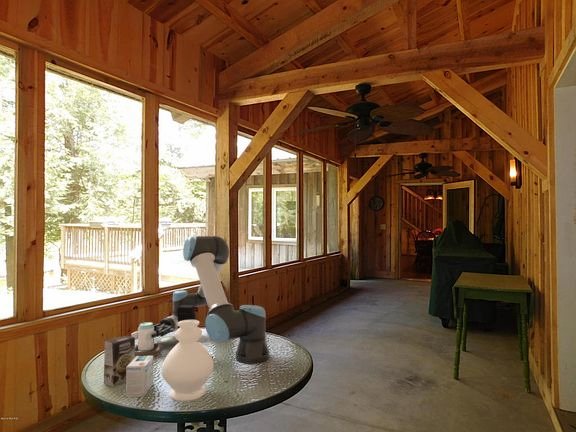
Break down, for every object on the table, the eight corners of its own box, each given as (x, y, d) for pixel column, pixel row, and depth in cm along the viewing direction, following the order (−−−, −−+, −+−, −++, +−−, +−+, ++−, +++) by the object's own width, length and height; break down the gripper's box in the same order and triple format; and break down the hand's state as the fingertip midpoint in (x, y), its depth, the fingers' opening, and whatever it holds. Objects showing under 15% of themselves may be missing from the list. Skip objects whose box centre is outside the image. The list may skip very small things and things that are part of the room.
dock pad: (180, 344, 185) (180, 342, 185) (154, 346, 182) (154, 344, 182) (181, 337, 197) (181, 335, 197) (157, 339, 194) (157, 337, 194)
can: (135, 352, 170) (136, 325, 171) (140, 347, 177) (140, 321, 178) (151, 351, 171) (151, 325, 171) (155, 346, 178) (155, 321, 178)
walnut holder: (158, 355, 169) (158, 351, 169) (129, 357, 167) (129, 353, 167) (161, 347, 181) (161, 343, 181) (134, 348, 179) (134, 344, 179)
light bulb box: (135, 384, 139) (135, 355, 139) (153, 383, 140) (153, 354, 140) (125, 397, 128) (125, 366, 129) (145, 396, 129) (145, 365, 129)
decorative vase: (167, 383, 140) (168, 316, 140) (215, 381, 142) (215, 315, 142) (155, 406, 122) (156, 330, 123) (210, 403, 124) (211, 328, 125)
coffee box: (113, 387, 136) (113, 343, 136) (103, 383, 139) (103, 340, 140) (135, 378, 144) (135, 337, 144) (125, 375, 147) (125, 334, 148)
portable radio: (197, 353, 173) (198, 299, 174) (192, 357, 167) (193, 302, 168) (181, 352, 174) (181, 299, 174) (176, 357, 168) (176, 301, 168)
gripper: (185, 333, 188) (157, 347, 166) (152, 330, 194) (121, 343, 172) (185, 318, 189) (157, 330, 167) (152, 316, 194) (121, 327, 173)
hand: (139, 337), depth 170 cm, fingers closed on can, 7 cm apart
